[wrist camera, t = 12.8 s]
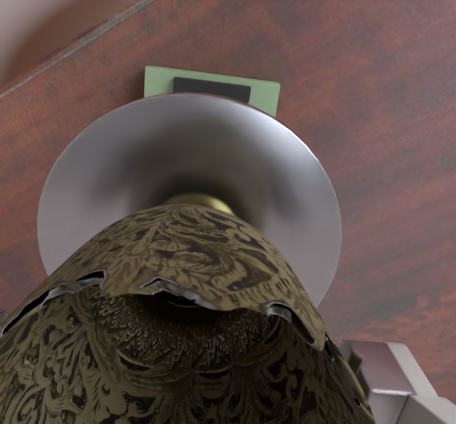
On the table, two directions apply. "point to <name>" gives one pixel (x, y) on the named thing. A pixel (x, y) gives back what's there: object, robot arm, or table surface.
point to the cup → (174, 333)
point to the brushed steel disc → (194, 179)
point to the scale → (212, 86)
